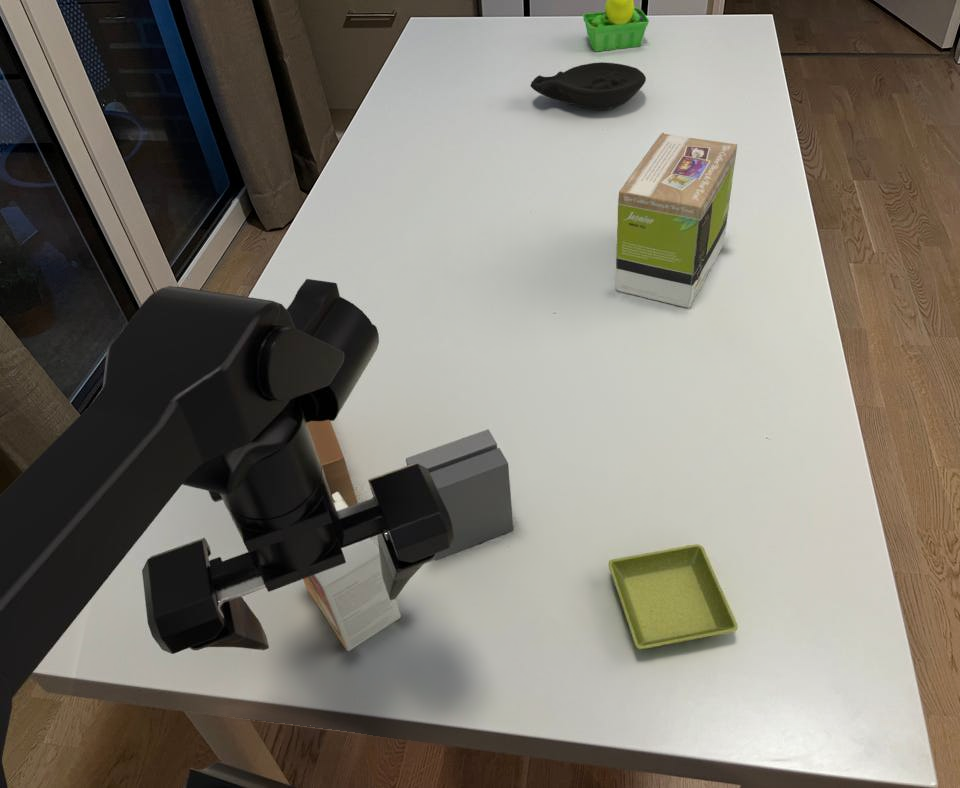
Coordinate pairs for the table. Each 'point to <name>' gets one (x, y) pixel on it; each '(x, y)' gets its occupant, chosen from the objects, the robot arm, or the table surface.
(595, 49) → the fruit basket
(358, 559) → the small box
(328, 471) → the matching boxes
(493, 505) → the grey grooved block
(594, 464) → the table surface
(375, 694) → the table surface
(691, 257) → the tea box
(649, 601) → the green square tray
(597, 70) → the oil lamp
